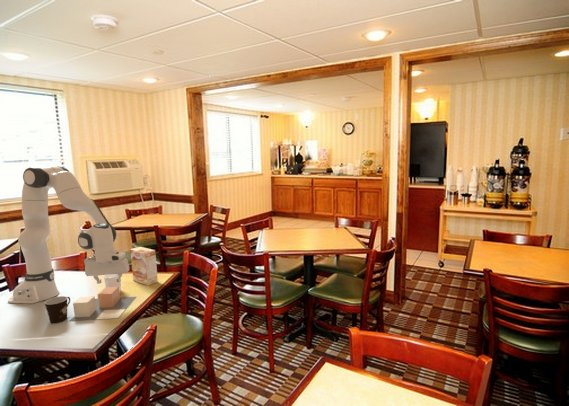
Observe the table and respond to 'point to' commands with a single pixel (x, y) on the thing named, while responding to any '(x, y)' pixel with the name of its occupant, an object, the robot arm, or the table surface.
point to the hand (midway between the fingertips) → (109, 282)
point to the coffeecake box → (144, 265)
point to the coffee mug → (57, 309)
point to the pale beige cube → (84, 306)
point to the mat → (108, 310)
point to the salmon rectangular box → (108, 297)
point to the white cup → (112, 281)
